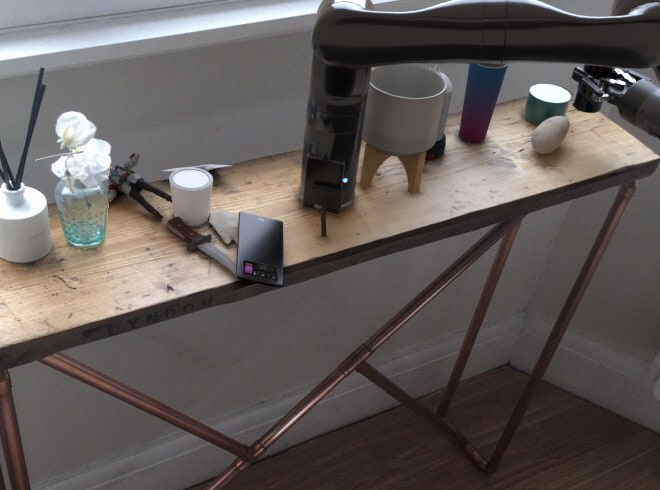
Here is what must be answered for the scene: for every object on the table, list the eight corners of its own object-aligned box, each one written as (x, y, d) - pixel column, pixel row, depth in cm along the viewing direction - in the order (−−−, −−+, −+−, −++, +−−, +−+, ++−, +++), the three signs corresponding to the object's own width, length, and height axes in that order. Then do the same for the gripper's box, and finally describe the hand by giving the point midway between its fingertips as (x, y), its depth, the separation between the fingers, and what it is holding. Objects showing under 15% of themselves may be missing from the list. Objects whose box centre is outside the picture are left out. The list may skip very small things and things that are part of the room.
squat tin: (562, 129, 172) (570, 105, 169) (521, 122, 173) (528, 98, 170) (564, 111, 178) (571, 88, 174) (525, 104, 179) (531, 80, 176)
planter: (386, 204, 149) (403, 105, 136) (339, 169, 156) (350, 72, 144) (442, 183, 155) (463, 87, 142) (394, 150, 162) (409, 56, 150)
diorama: (228, 161, 155) (229, 172, 156) (160, 168, 153) (161, 178, 154) (234, 166, 148) (235, 177, 148) (162, 173, 146) (163, 184, 147)
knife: (259, 259, 133) (237, 274, 130) (259, 266, 134) (237, 281, 131) (176, 214, 140) (154, 227, 137) (176, 221, 141) (154, 234, 138)
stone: (524, 143, 162) (539, 100, 167) (529, 169, 166) (544, 126, 172) (556, 142, 159) (570, 98, 164) (560, 169, 163) (574, 125, 169)
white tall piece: (422, 165, 159) (449, 26, 142) (390, 145, 163) (412, 9, 146) (453, 152, 163) (482, 16, 146) (421, 133, 167) (446, -1, 150)
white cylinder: (205, 201, 146) (205, 164, 141) (218, 224, 141) (218, 186, 136) (164, 207, 143) (163, 169, 139) (176, 231, 139) (175, 192, 134)
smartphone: (239, 208, 138) (238, 213, 139) (236, 276, 129) (234, 280, 130) (284, 218, 140) (282, 222, 141) (284, 285, 130) (282, 290, 131)
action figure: (136, 224, 137) (74, 179, 143) (158, 237, 143) (98, 194, 149) (169, 174, 136) (106, 131, 142) (190, 190, 142) (129, 148, 148)
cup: (446, 134, 168) (462, 57, 157) (469, 124, 171) (486, 48, 161) (474, 149, 164) (492, 71, 154) (497, 138, 168) (516, 62, 158)
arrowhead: (232, 239, 135) (193, 215, 141) (233, 250, 136) (194, 225, 142) (267, 225, 138) (227, 202, 144) (267, 235, 139) (227, 212, 145)
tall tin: (602, 115, 163) (620, 62, 156) (573, 111, 163) (590, 59, 156) (598, 101, 167) (615, 50, 160) (569, 98, 167) (585, 46, 160)
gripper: (691, 82, 153) (620, 43, 163) (631, 96, 147) (562, 55, 157) (674, 123, 158) (607, 82, 168) (616, 137, 152) (550, 95, 162)
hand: (586, 69), depth 163 cm, fingers closed on tall tin, 5 cm apart
